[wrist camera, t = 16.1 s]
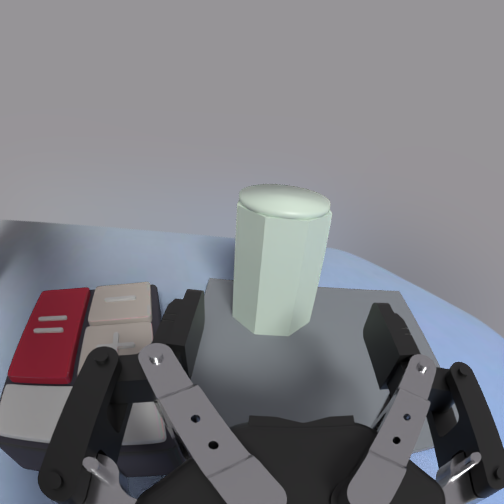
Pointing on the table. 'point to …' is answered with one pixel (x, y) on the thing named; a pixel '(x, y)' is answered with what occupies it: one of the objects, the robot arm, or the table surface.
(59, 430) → the robot arm
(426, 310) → the table surface
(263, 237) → the pale green faceted cylinder
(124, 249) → the table surface
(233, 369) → the mat
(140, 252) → the table surface
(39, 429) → the calculator
